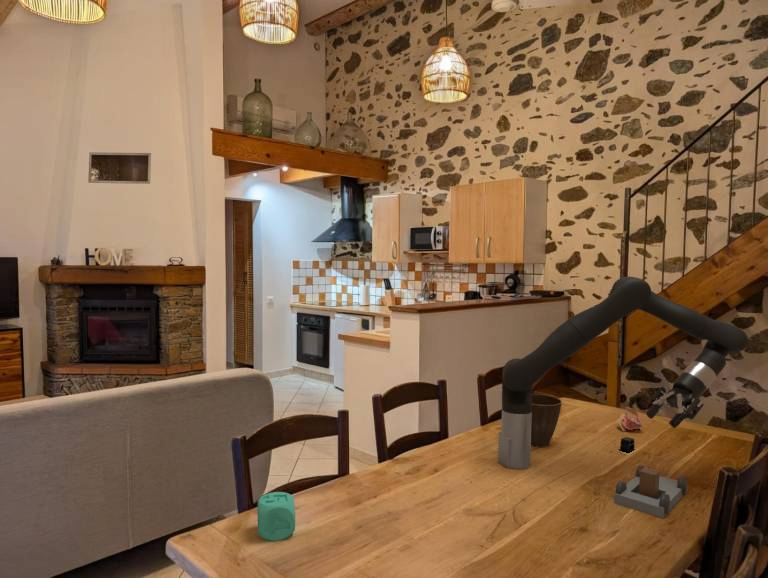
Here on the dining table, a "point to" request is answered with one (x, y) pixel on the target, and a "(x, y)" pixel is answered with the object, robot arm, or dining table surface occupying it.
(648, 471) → the wooden block
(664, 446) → the dining table surface
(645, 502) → the chassis
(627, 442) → the black block
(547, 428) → the plant pot
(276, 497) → the decorative dice
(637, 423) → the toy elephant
